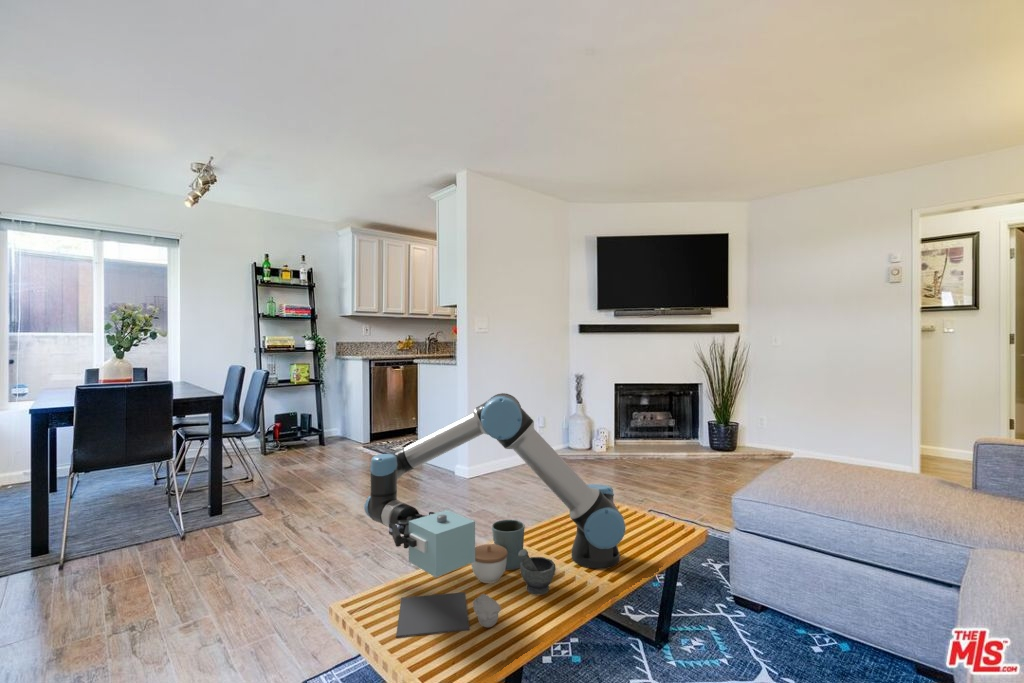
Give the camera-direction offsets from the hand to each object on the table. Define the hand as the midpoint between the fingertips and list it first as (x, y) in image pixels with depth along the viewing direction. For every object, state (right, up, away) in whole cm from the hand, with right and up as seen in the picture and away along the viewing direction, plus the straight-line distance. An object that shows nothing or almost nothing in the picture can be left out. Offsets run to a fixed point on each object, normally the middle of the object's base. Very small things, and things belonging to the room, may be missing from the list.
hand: (447, 539), depth 114 cm
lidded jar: (+9, -20, +21) cm, 31 cm away
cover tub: (-1, -6, +1) cm, 6 cm away
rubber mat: (-4, -20, +2) cm, 20 cm away
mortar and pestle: (+23, -20, +14) cm, 33 cm away
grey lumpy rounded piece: (+10, -20, -3) cm, 22 cm away
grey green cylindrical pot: (+15, -21, +30) cm, 39 cm away
